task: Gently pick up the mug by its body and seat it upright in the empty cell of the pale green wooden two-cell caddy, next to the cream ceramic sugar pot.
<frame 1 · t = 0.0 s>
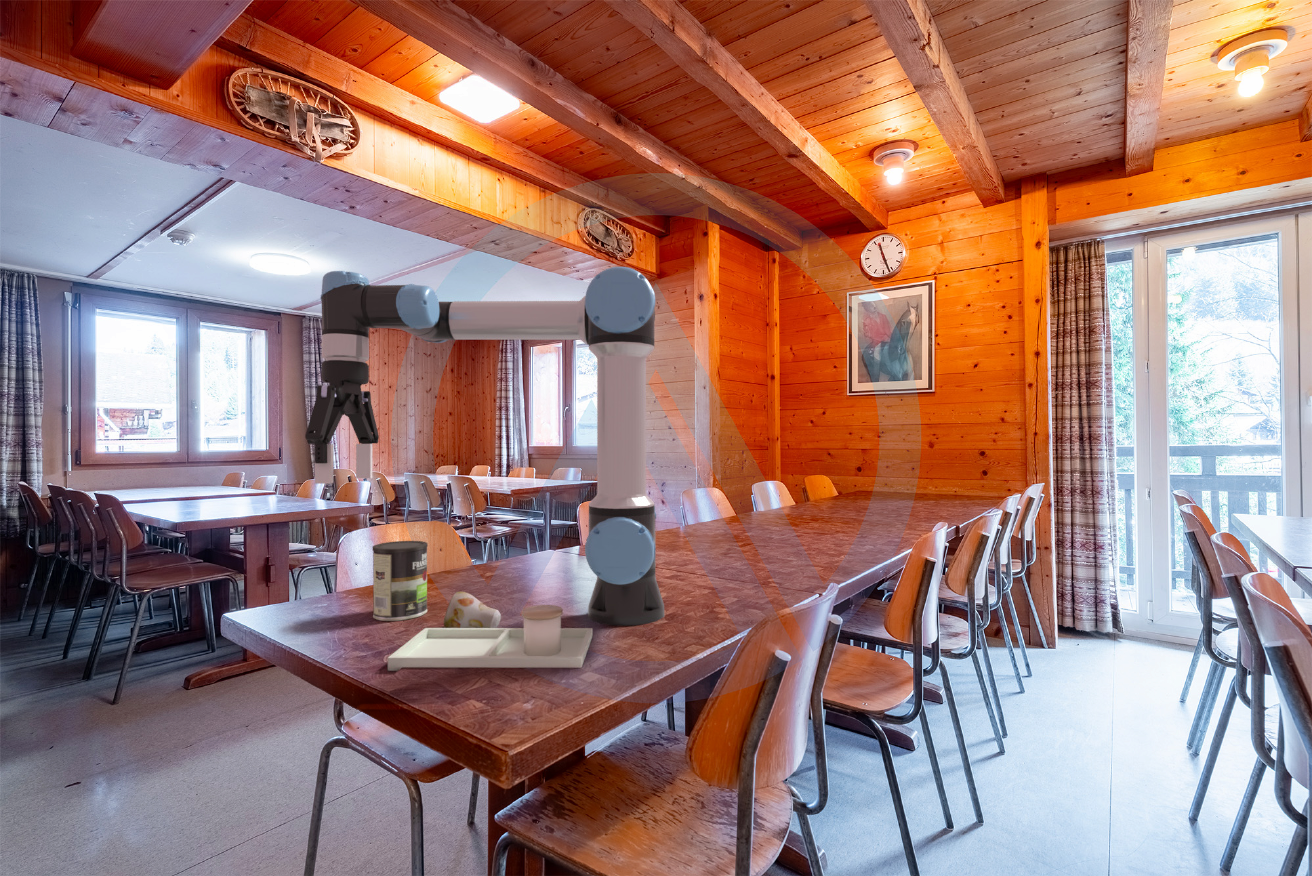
hand: (345, 480, 107), 28 cm above the table, fingers open, 13 cm apart
caddy: (497, 654, 99), on the table
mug: (474, 631, 112), on the table
sugar pot: (542, 650, 99), point 1 cm above the table, touching caddy
coffee can: (400, 614, 122), on the table
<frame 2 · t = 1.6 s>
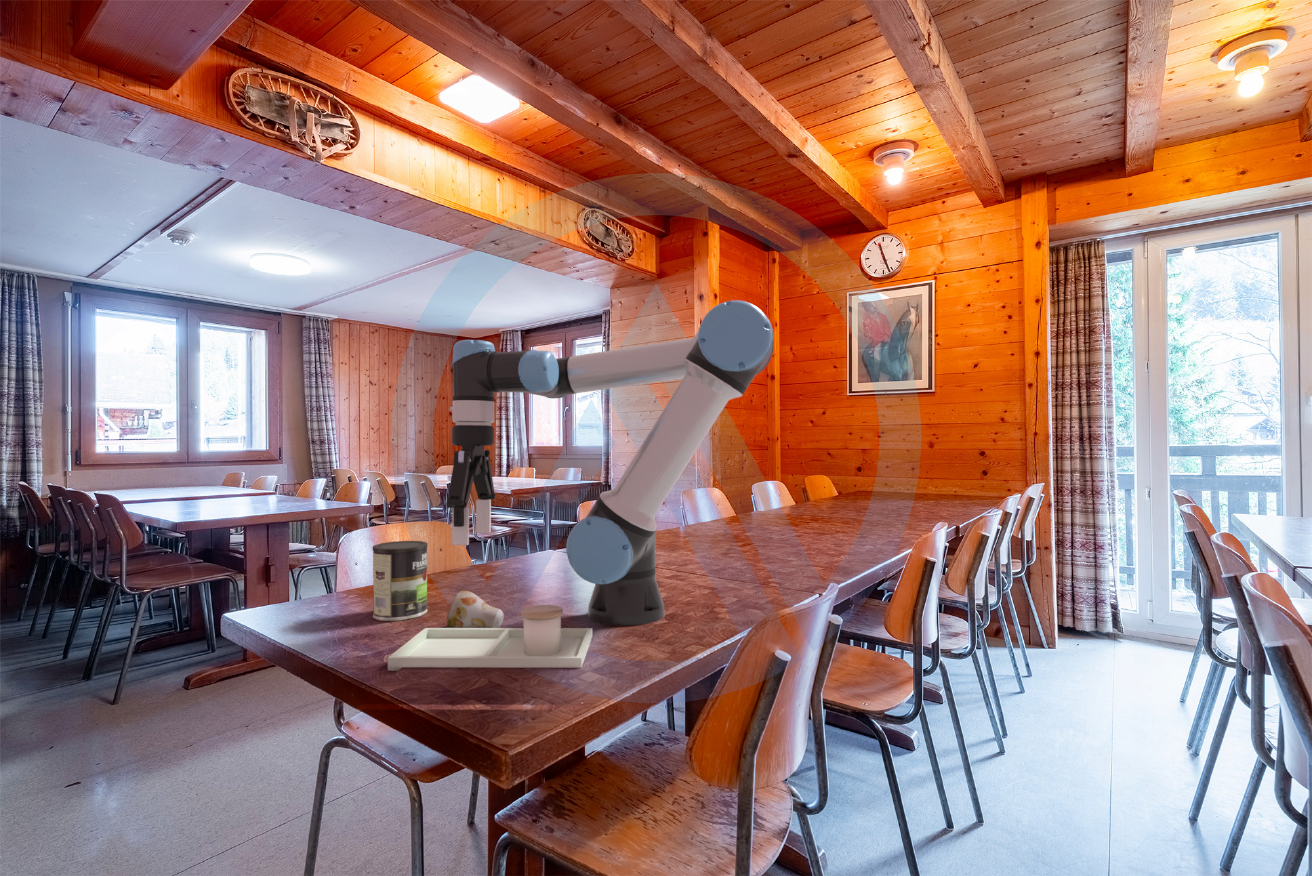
hand: (472, 538, 112), 17 cm above the table, fingers open, 13 cm apart
nothing on the table moved.
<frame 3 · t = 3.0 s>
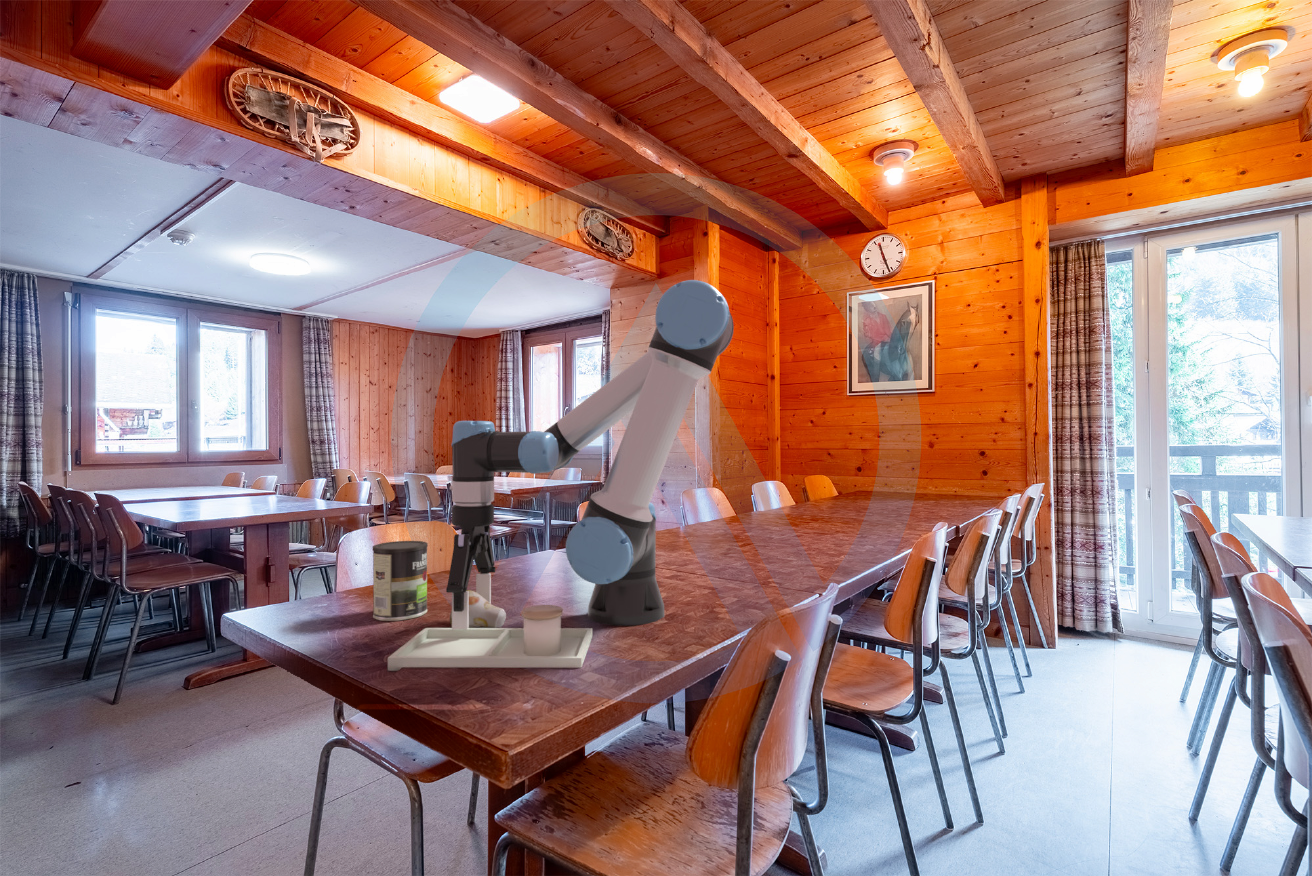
hand: (472, 617, 112), 2 cm above the table, fingers open, 13 cm apart
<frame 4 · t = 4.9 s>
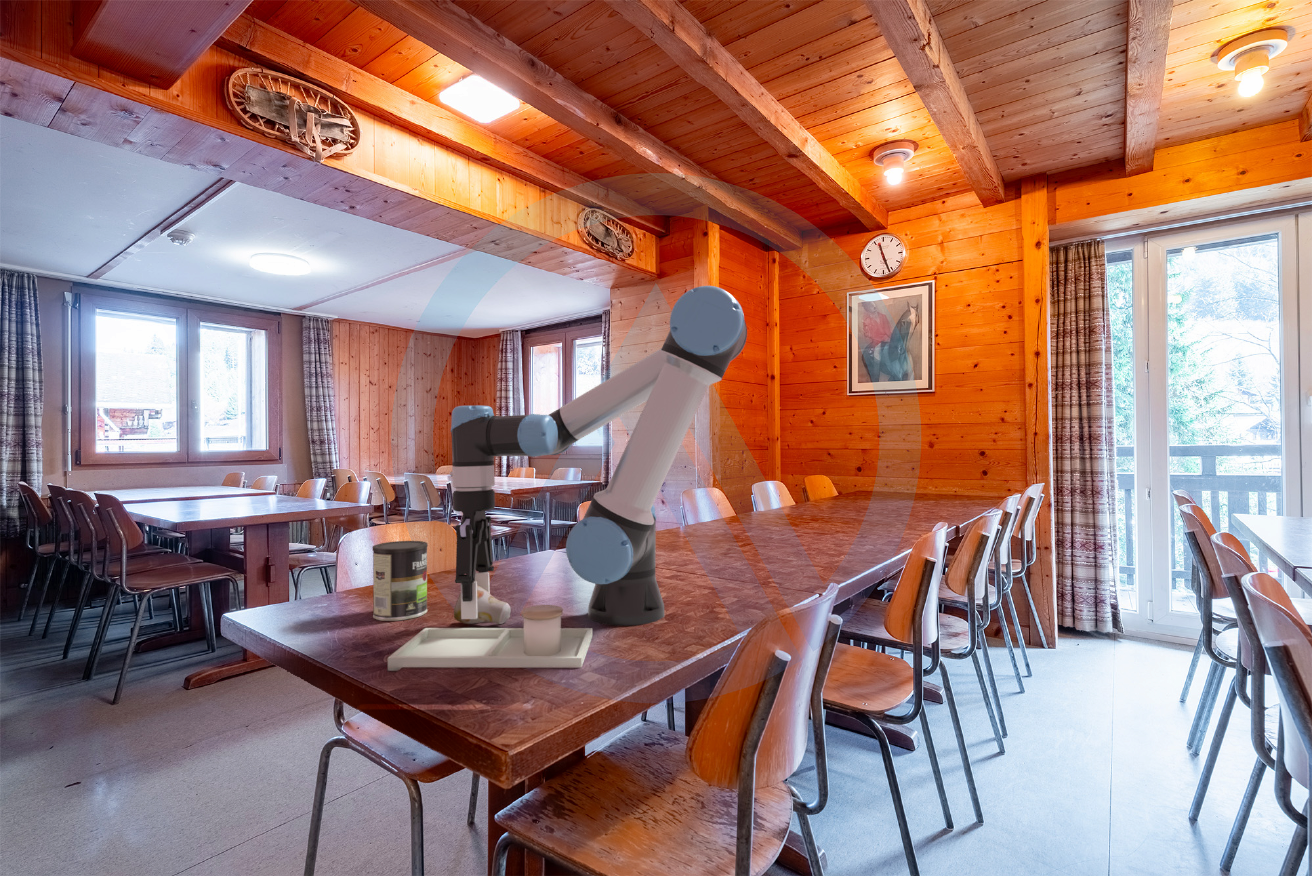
hand: (476, 612, 112), 3 cm above the table, fingers closed on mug, 7 cm apart
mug: (484, 623, 112), point 1 cm above the table, touching gripper
everything else where it was.
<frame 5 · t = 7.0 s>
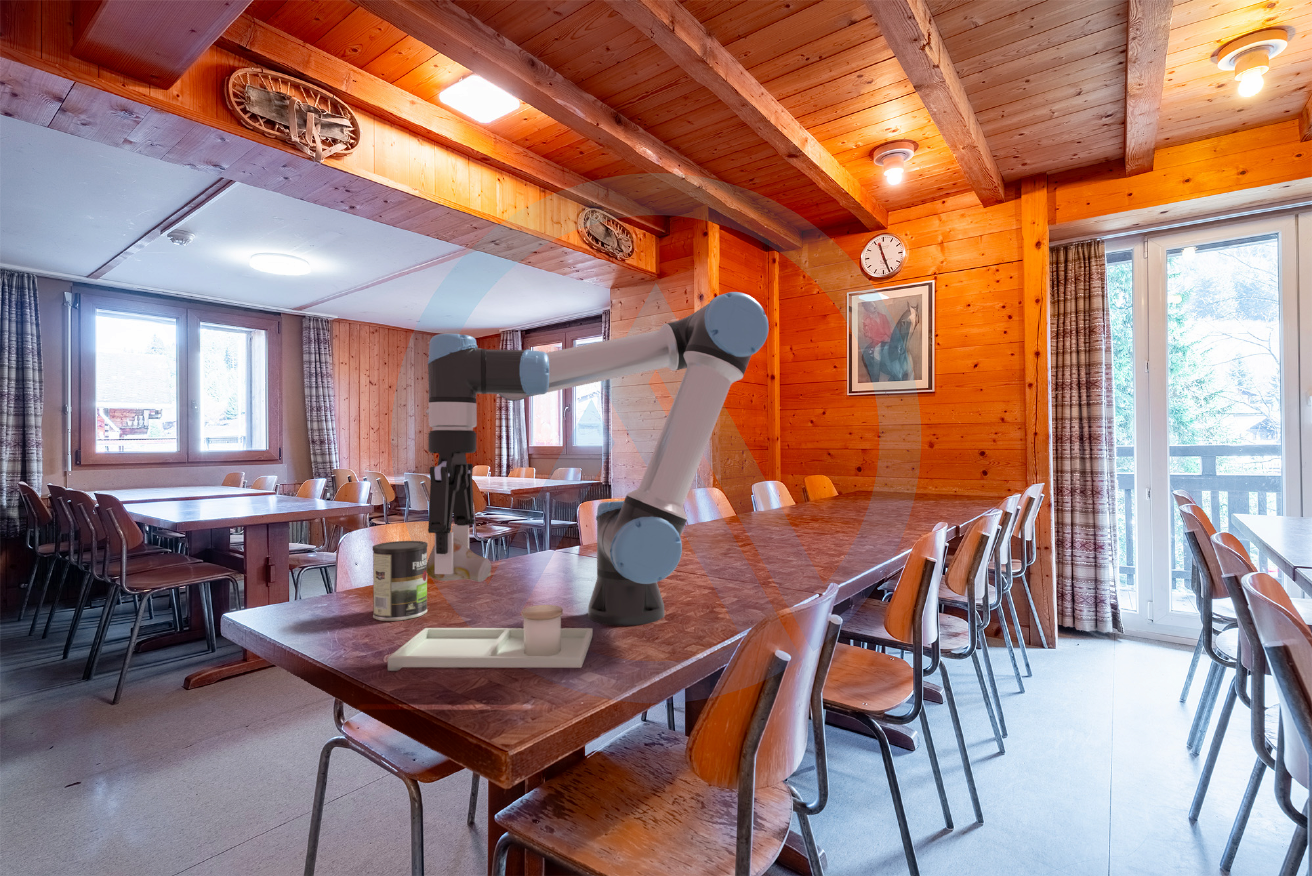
hand: (452, 568, 99), 14 cm above the table, fingers closed on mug, 7 cm apart
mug: (461, 581, 100), point 12 cm above the table, touching gripper
everything else where it was.
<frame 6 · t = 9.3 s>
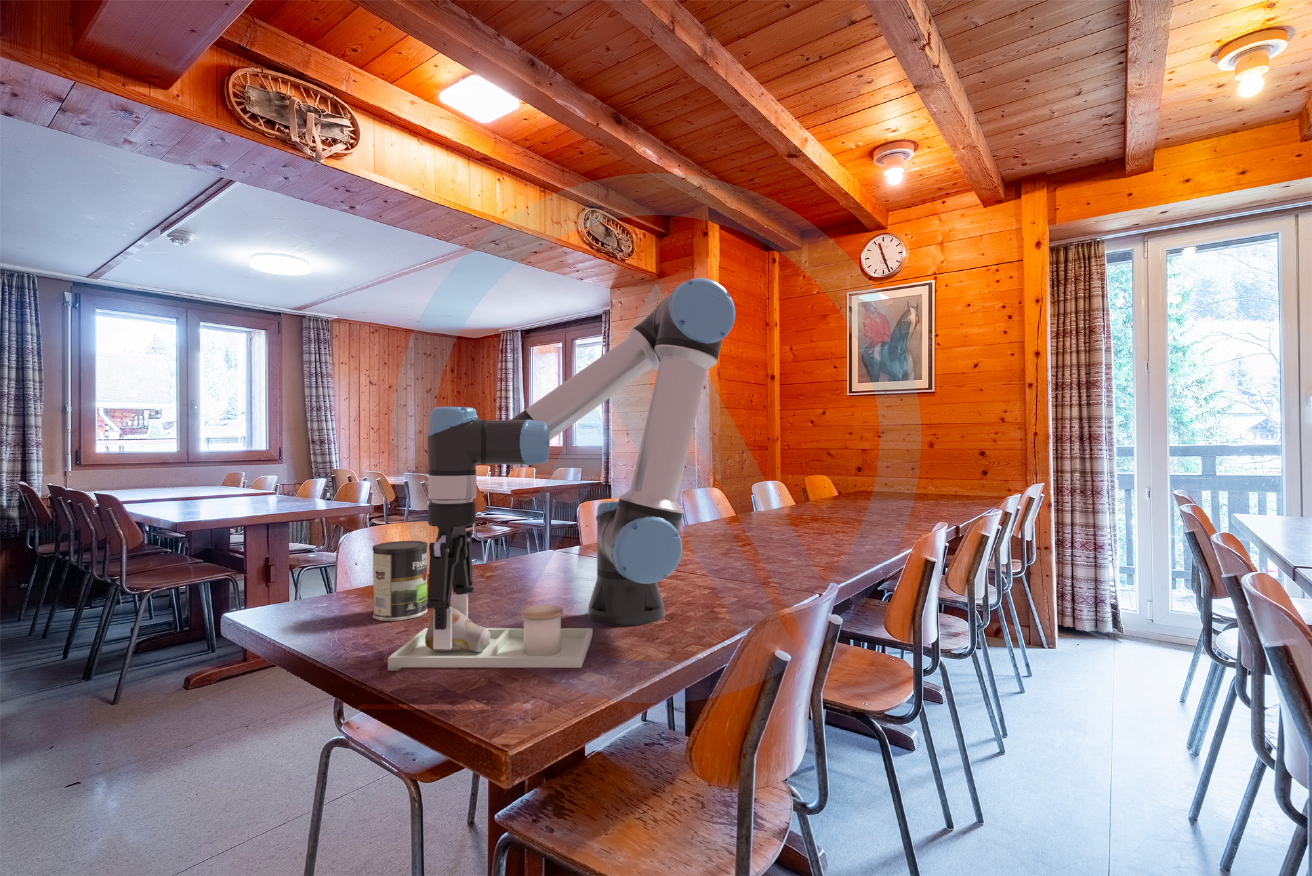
hand: (451, 639, 99), 2 cm above the table, fingers closed on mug, 7 cm apart
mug: (460, 651, 99), resting on caddy, touching gripper
everything else where it was.
when the fingers open (2 cm above the table, at t = 10.3 s): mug stays where it is, resting on caddy.
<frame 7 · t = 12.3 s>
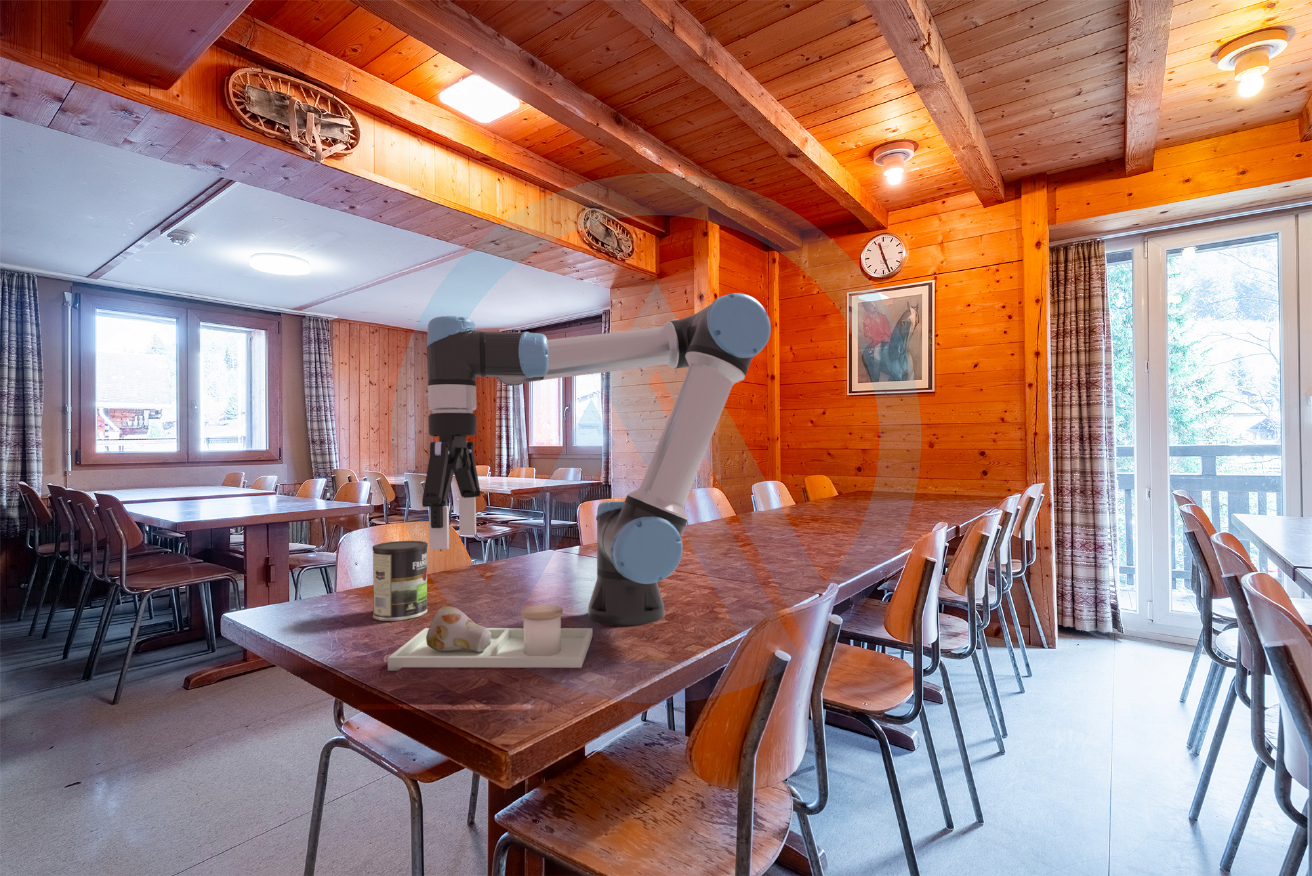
hand: (454, 541, 99), 18 cm above the table, fingers open, 13 cm apart
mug: (461, 651, 100), resting on caddy
everything else where it was.
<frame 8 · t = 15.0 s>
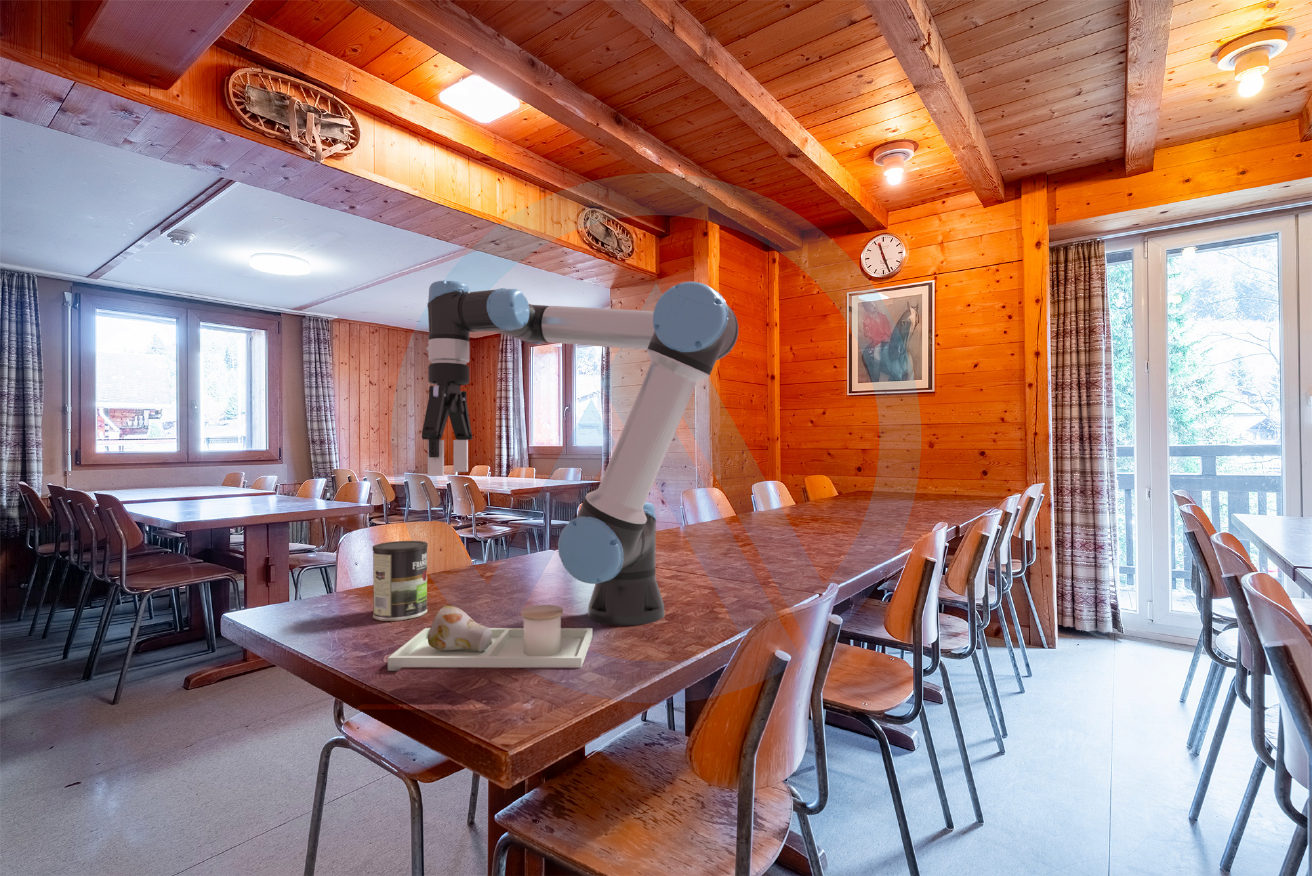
hand: (449, 473, 116), 29 cm above the table, fingers open, 13 cm apart
nothing on the table moved.
at the end: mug inside the target area on the caddy (1.8 cm from its centre), point 0.4 cm above the caddy's base; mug tilted 0°; the gripper is holding nothing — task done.
